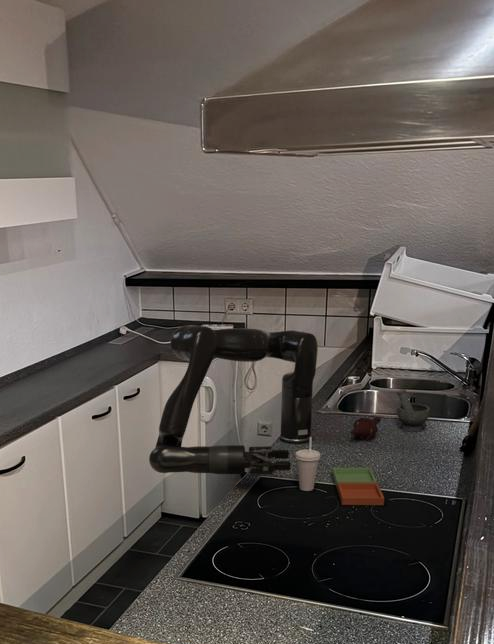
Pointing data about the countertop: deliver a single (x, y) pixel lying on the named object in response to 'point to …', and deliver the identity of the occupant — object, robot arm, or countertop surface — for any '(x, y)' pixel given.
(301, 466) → the smoothie
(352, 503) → the terracotta tray
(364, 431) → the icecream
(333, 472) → the green tray
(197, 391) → the robot arm
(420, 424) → the mortar and pestle
